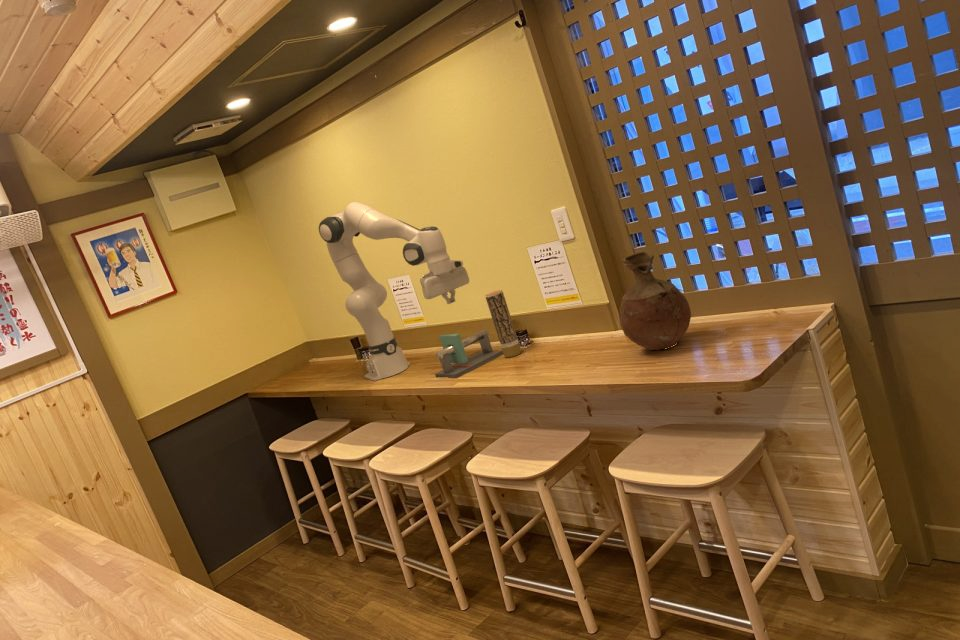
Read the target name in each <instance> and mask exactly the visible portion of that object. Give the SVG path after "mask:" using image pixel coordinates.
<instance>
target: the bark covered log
mask: <svg viewBox="0 0 960 640" xmlns="http://www.w3.org/2000/svg"><path fill="white" fill-rule="evenodd" d="M484 296H485V300H486V303H487V306H488V309H489V312H490V316H491V319H492V322H493V325H494V329H495V331H496V334H497V337H498V341H499V343H500V347H501V350H503V353H504V354H503V356H504V357H505V358H507V359H509V358H513V357H516V356H519V355H520V354H521V353H522V348H521V345H520V343H519V342H520V341H519V340H518V336H517V333H516V329H515V325H514V323H513V320H512V317H511V313H510V310H509V307H508V304H507V301H506V297H505V295H504V291H503V290H502V289H499V290H494V291H492V292H488V293H487V294H485V295H484Z"/></svg>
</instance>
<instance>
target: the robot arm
mask: <svg viewBox="0 0 960 640" xmlns="http://www.w3.org/2000/svg"><path fill="white" fill-rule="evenodd" d="M318 233H319V235H320V238H321V239H322V240H323V241H324V242H325V243H326V247H327V250H328V254H329V256H330V258H331V261H332V263H333V265H334V267H335V269H336V270H337V273H338V275H339V276H340V278H341V280H342V281H343V282H344V283H346V284H348V285H349V287H350V288H351V289H352V290H353V291H352V292H351V293H350V295H348V297H347V298H346V300H345V302H344V303H345V309H346V311H347V312H348V313H349V314H350V316H353V317H354V318H355V319H356V320H357V322H358V323H359V325H360V326H361V328H362V330H363V333H364V334H365V337H366V340H367V344H368V347H367V348H368V351H369V354H370V355H369V357H368V360H367V361H366V365H365V369H366V371H368V373H366V374H365V375H364V378H365V379H367V380H371V381H374V382H376V381H379V380H382V379H386V378H388V377H392V376H395V375H398V374H400V373H402V372H404V371H406V370H407V369H408V368H409V366H410V365H411V363H410V361H408V360H407V359H406V356H405V354H404V352H403V349H402V348H401V347H399V346H398V342H397V339H396V337H394V334H393V330H392V328H391V325H390V322H389V320H388V319H386V318H385V317H384V315H382V314H381V311H379V308H380V307H381V306H383V304H384V303H385V301H386V300H387V298H388V291H387V289H386V287H385V286H384V285H383V284H381V283H380V282H378V281H377V280H376V279H375V278H374V276H373V275H372V274H371V273H370V272H369V271H368V269H367V267H366V265H365V264H364V261H363V260H362V258H361V256H360V254H359V252H358V249H356V248H357V247H356V246H355V245H354V243H353V242H354V241H353V239H354V237H359V236H360V234H361V235H363V236H364V237H367V238H368V239H371V240H375V241H379V240H384V239H385V240H386V239H401V240H404V241H407V243H405V244H404V245H403V248H402V257H403V259H404V260H405V262H406V263H408V265H410V266H414V267H415V266H419V265H422V264H424V263H426V265H427V268H428V271H429V272H427V273H426V274H423V275H422V276H421V277H420V279H419V282H420V285H421V290H422V295H423V297H424V299H426V300H432V299H435V298H437V297H438V296H441V297H442V298H443V299H444V300H445V301H446V304H447V305H451V304H453V303H455V302H456V297H455V296H456V289H459V288H462V287H463V286H466V285H468V284H469V283H470V277H469V274H468V272H467V270H466V267H464V262H463V260H451V258H450V256H449V254H448V252H447V246H446V242H445V238H444V236H443V234H442V231H441V230H440V229H439V228H438V227H437V226H427V227H426V226H425V227H422V228H421V229H419V228H417V227H415V226H413V225H411V224H409V223H406V222H405V221H402V220H400V219H397V218H394V217H391V216H389V215H387V214H384V213H382V212H380V211H379V210H377V209H375V208H373V207H371V206H369V205H367V204H364V203H362V202H359V201H352V202H349V203H348V204H347V205H346V206H345V208H344V210H340V211H338V212H336V213H335V214H332V215H330V216H327V217H325V218H323V220H321V221H320V223H319V224H318ZM448 293H449V294H450V297H449V296H448Z"/></svg>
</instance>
